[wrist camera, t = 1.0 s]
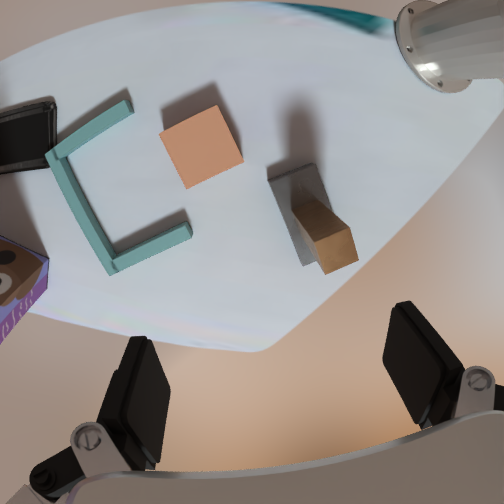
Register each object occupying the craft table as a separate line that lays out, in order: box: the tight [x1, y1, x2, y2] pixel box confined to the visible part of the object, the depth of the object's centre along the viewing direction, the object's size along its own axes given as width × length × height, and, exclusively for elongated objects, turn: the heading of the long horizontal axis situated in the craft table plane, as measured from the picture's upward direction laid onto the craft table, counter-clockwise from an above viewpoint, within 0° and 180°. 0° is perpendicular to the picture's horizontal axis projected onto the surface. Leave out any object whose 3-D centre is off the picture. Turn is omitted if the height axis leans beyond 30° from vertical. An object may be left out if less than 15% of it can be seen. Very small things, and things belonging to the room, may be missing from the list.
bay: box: [45, 100, 193, 276], centre depth 29 cm, size 11×16×2 cm
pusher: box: [268, 163, 359, 275], centre depth 28 cm, size 10×5×11 cm, turn 23°
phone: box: [0, 102, 57, 175], centre depth 26 cm, size 8×1×15 cm
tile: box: [159, 105, 244, 189], centre depth 28 cm, size 6×6×3 cm
